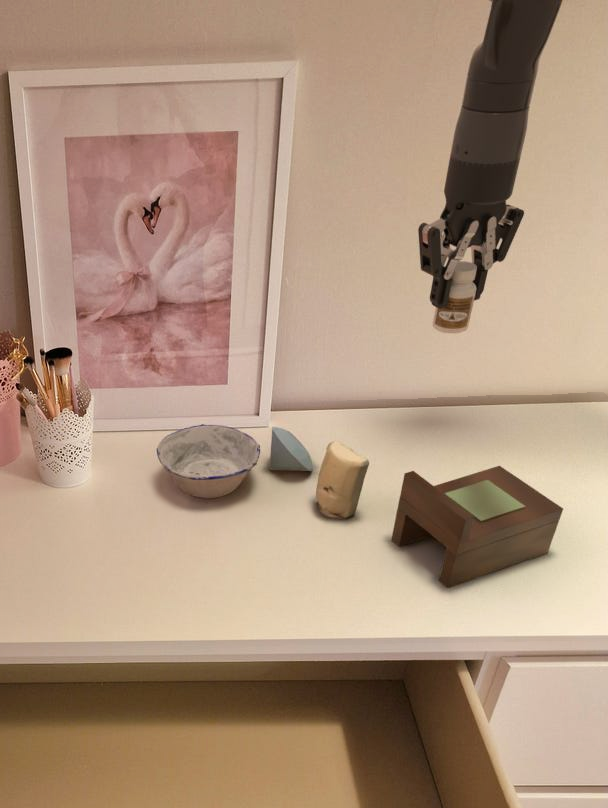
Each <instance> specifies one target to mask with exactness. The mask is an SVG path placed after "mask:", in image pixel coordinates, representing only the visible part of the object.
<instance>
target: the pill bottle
mask: <svg viewBox="0 0 608 808" xmlns="http://www.w3.org/2000/svg"><path fill="white" fill-rule="evenodd" d="M476 270H477V266H476V265H475V264H473V263H472V261H465V260H464V261H463V260H460V261H458V263H457V265H456V268H455V270H454V272H453V275H452V277H451V279H452V283H451V288H450V293H449V298H448V303H447V307H446V308H442V309H439V308H437V307H435V310H434V314H433V319H432V327H433V328H434V330H436V331H437V332H440V333H443V334H449V335H450V334H452V335H453V334H454V335H455V334H461V333H464V332H465V331H467V330H468V328H469V324H470V322H471V321H470V320H471V315H472V312H473V306H474V302H475V301H474V298H475V294H476V285H475V284H474V283H473V282H472V281H473V280H474V279H475V276H476Z"/></svg>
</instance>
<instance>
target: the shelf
mask: <svg viewBox="0 0 608 808" xmlns="http://www.w3.org/2000/svg"><path fill="white" fill-rule="evenodd" d="M401 485H402V486H401V489H400V495H399V498H398V503H397V508H396V509H397V510H396V514H395V519H394V524H393V530H392V534H391V538H390V540H391V541H392V542H393V543H395V544H396V545H397V546H398V547H402V546H405V545H408V544H411V543H414V542H416V541H420V540H423V539H426V538H429V537H431V536H432V537H433V538H435V539H436V540H437V542H439V543H441V544H442V545H443V546H444V547H446V550H445V553H444V558H443V562H442V566H441V570H440V573H439V577H438V582H439V583H441V584H442V585H443V586H444V587H445V588H447V589H448V588H451V587H454V586H456V585H459V584H462V583H465V582H469V581H471V580H475V579H477V578H479V577H482V576H486V575H488V574H491V573H494V572H496V571H500V570H502V569H505V568H508V567H511V566H514V565H517V564H520V563H522V562H526V561H528V560H531V559H534V558H537V557H540V556H542V555H543V556H544V555H545V554H548V553H549V550H550V547H551V545H552V543H553V539H554V536H555V533H556V530H557V528H558V525H559V522H560V520H561V517H562V515H563V511H564V508H563V507H562V506H560V505H559V504H557V503H555V502H554V501H553V500H551V499H550V498H548V497H547V496H545V495H544V494H543V493H541V492H539V491H538V490H537V489H535V488H533V487H532V486H531V485H529V484H527V483H526V482H524V481H523V480H522V479H520V478H519V477H517V476H516V475H515V474H513V473H512V472H510V471H508V470H507V469H505V468H504V467H502V466H501V465H498V466H493V467H490V468H487V469H484V470H480V471H478V472H475V473H471V474H468V475H465V476H464V475H463V476H461V477H458V478H454V479H451V480H449V481H445V482H442V483H439V484H435V485H433V484H432V483H430V482H429V481H428V480H426V479H425V478H424V477H422V476H421V475H420V474H419V473H417V472H415V471H414V470H411V471H408V472H405V473H404V475H403V481H402V484H401Z"/></svg>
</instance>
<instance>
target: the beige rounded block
mask: <svg viewBox="0 0 608 808" xmlns="http://www.w3.org/2000/svg"><path fill="white" fill-rule="evenodd" d="M369 466H370V461H369V459H368V458H366V457H364V456H362V455H361V454H359V453H358V452H356V451H355V450H353V449H352V448H350V447H349V446H347V445H345V444H344V443H342V442H341V441H332V442H329V443H328V445H327V446H326V451H325V455H324V457H323V460H322V462H321V465H320V469H319V472H318V478H317V484H316V490H315V496H316V501H315V502H316V505H318V507H319V511H320V513H321V514H323V515H324V516H326V517H328V518H335V519H336V518H337V519H340V520H350V519H352V518H353V517H354V516H355V515H356V511H357V508H358V504H359V500H360V497H361V493H362V489H363V486H364V481H365V478H366V474H367V472H368V468H369Z"/></svg>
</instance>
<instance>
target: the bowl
mask: <svg viewBox="0 0 608 808" xmlns="http://www.w3.org/2000/svg"><path fill="white" fill-rule="evenodd" d="M156 455H157V458H158V461H159V463H160V464H161V465H162V466H163V468H164V470H166V472H167V473H168V475H169V476H170V478H172V480H173V482H174V483H175V484H176V486H177V487H178V488H179V489H180V490H181V491H183V492H184V493H185V494H188V495H190V496H193V497H196V498H201V499H202V498H203V499H214V498H220V497H224V496H226V495H229V494H232V492H234V491H235V490H236V489H238V488H239V486H240V485H241V483H242V482H244V481H243V480H244V479H245V478H246V476H247V475H248V474H249V473H250V471H252V469H253V468H254V467H255V466H256V465H258V462H259V459H260V455H261V445H260V444H259V443H257V441H256V440H255V439H254V438H253V437H252V436H251V435H249V434H247V433H246V432H243V431H241V430H239V429H237V428H234V427H231V426H227V425H226V426H225V425H220V424H219V425H218V424H203V423H201V424H198V425H193V426H189V427H184V428H182V429H178V430H176V431H175V432H171V433H169V434H167V435H166V436H165V437H163V439H161V441H160V442H159V443H158V446H157V447H156Z"/></svg>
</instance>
